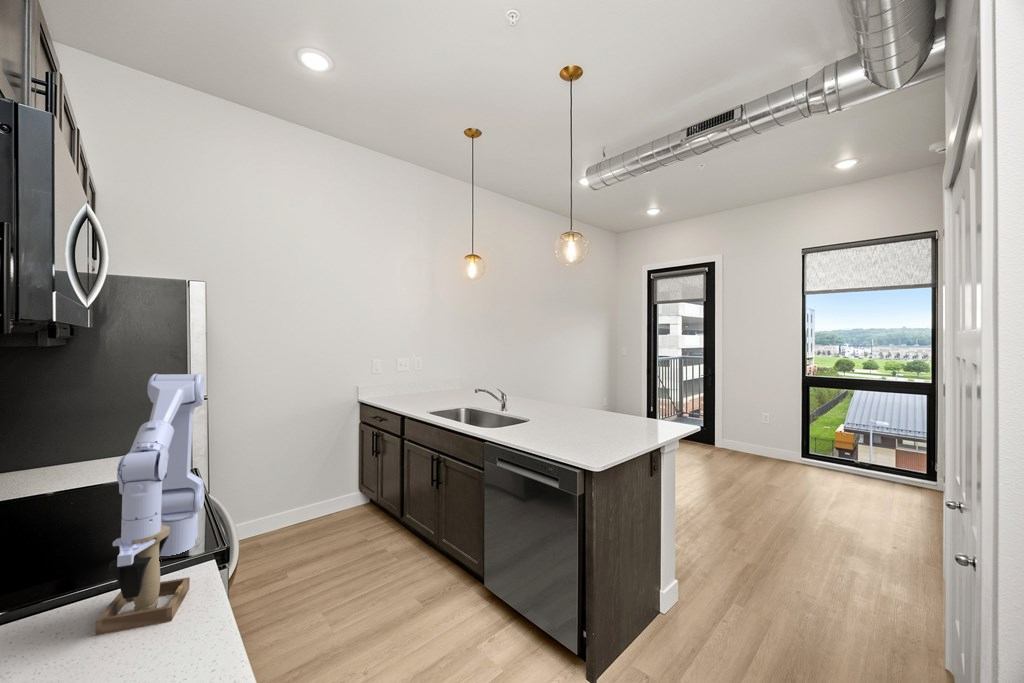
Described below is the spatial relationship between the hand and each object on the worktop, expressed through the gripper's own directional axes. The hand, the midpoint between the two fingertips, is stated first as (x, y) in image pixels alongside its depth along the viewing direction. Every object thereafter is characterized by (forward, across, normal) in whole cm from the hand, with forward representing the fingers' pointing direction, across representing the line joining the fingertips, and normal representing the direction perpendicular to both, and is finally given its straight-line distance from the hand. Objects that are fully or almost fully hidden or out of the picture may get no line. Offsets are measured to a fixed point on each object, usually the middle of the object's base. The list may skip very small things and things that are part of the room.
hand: (139, 585), depth 81 cm
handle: (+5, 0, +1) cm, 5 cm away
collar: (+5, 0, +1) cm, 5 cm away
